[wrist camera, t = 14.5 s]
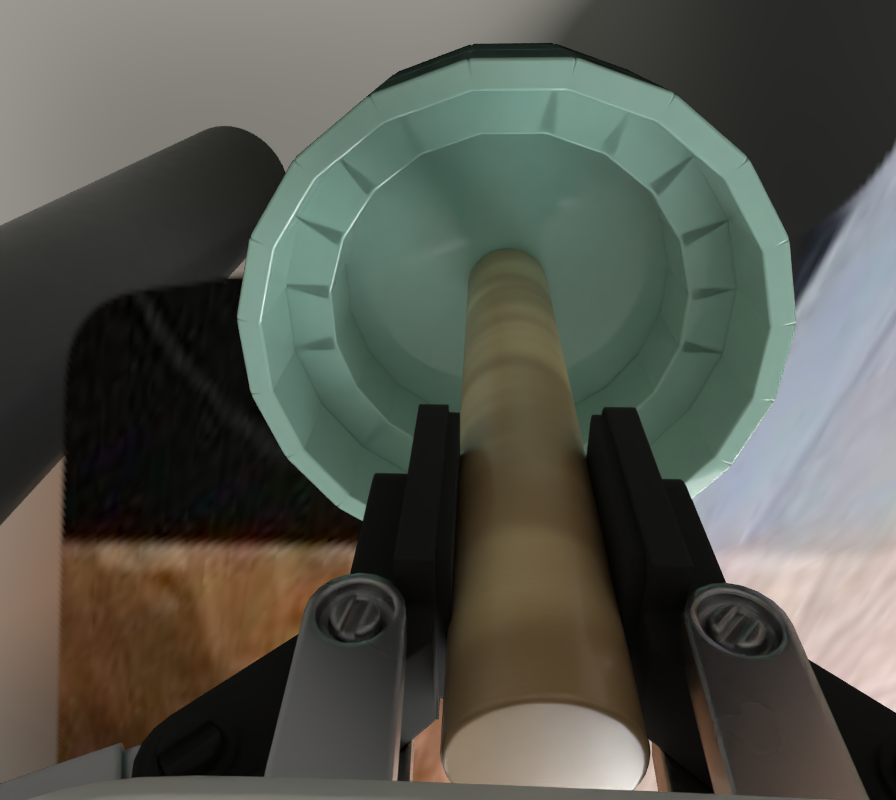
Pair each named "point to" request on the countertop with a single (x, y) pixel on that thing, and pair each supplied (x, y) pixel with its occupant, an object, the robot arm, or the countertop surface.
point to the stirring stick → (531, 565)
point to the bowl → (523, 228)
